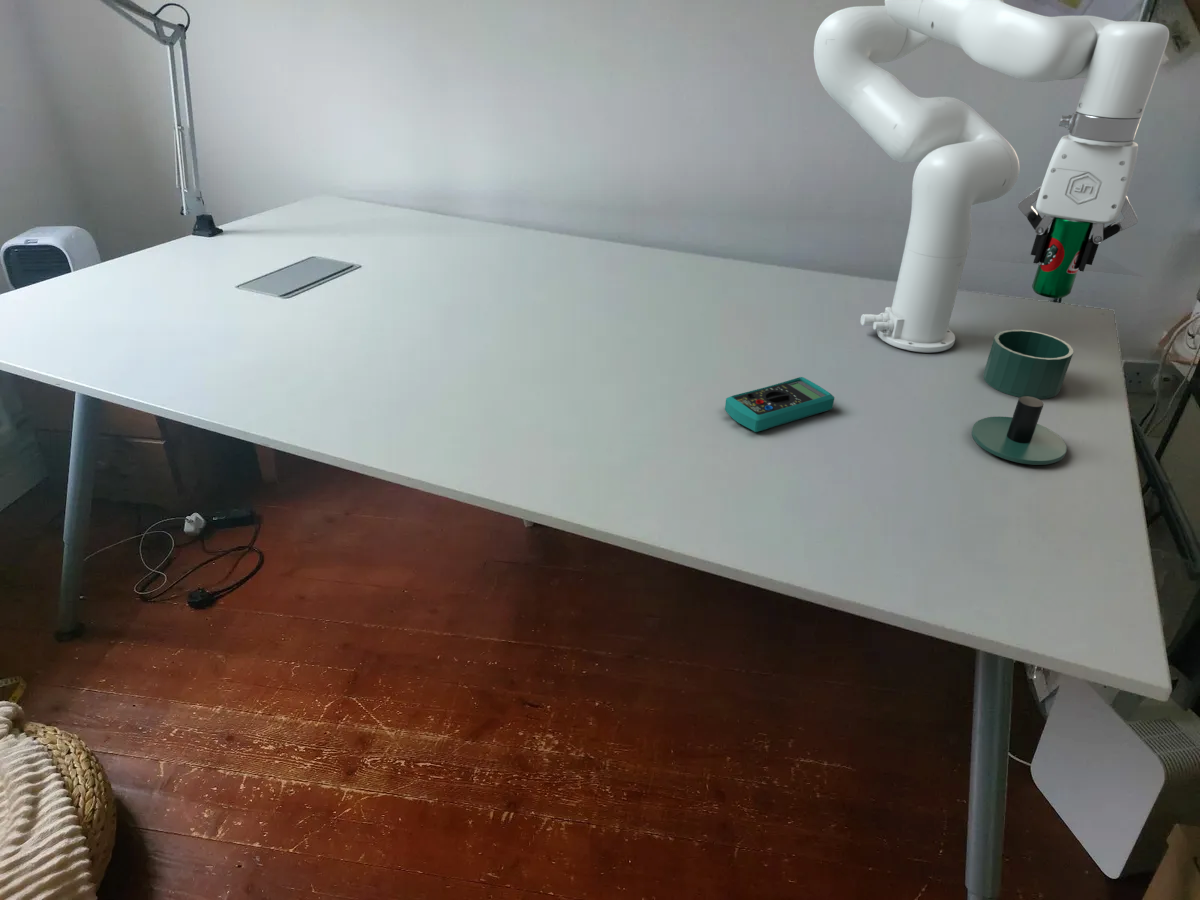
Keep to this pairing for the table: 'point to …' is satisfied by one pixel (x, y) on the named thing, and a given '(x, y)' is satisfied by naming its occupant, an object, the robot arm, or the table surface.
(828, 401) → the digital multimeter
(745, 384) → the table surface
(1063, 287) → the soda can
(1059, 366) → the green round container
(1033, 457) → the lid
